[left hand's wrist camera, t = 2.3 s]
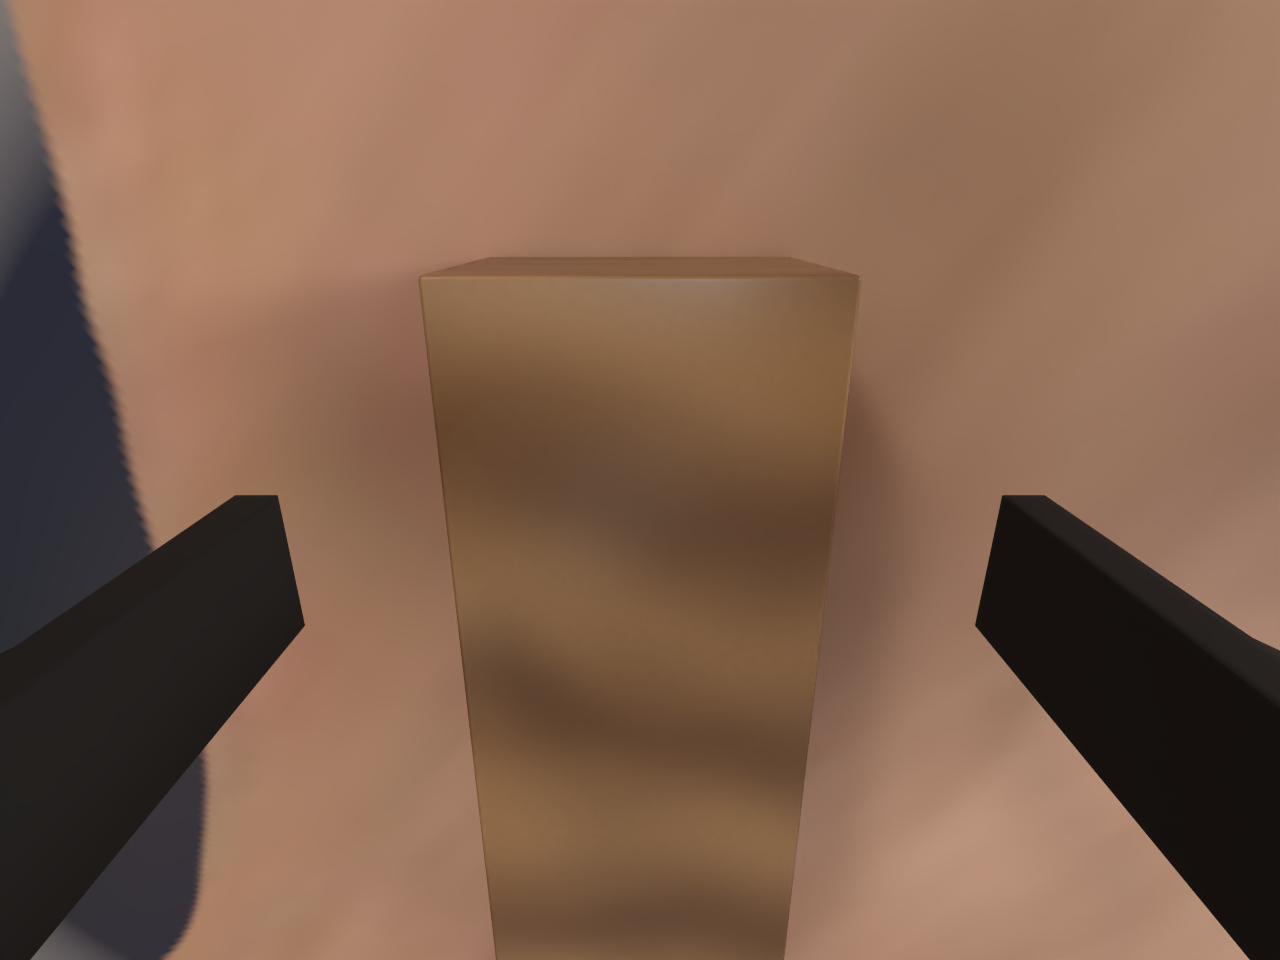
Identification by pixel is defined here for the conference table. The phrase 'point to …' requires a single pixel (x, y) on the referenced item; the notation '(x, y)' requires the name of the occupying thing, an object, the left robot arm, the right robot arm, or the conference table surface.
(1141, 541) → the conference table surface
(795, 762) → the long wooden beam
